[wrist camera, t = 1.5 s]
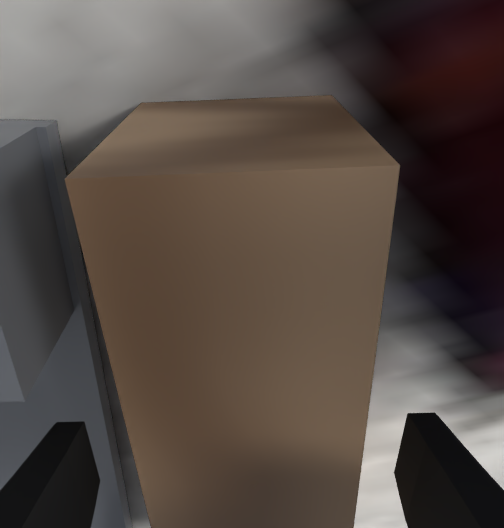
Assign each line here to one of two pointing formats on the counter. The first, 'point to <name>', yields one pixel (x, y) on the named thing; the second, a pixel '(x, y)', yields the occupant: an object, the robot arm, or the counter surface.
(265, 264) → the slat
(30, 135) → the cradle
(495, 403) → the counter surface
